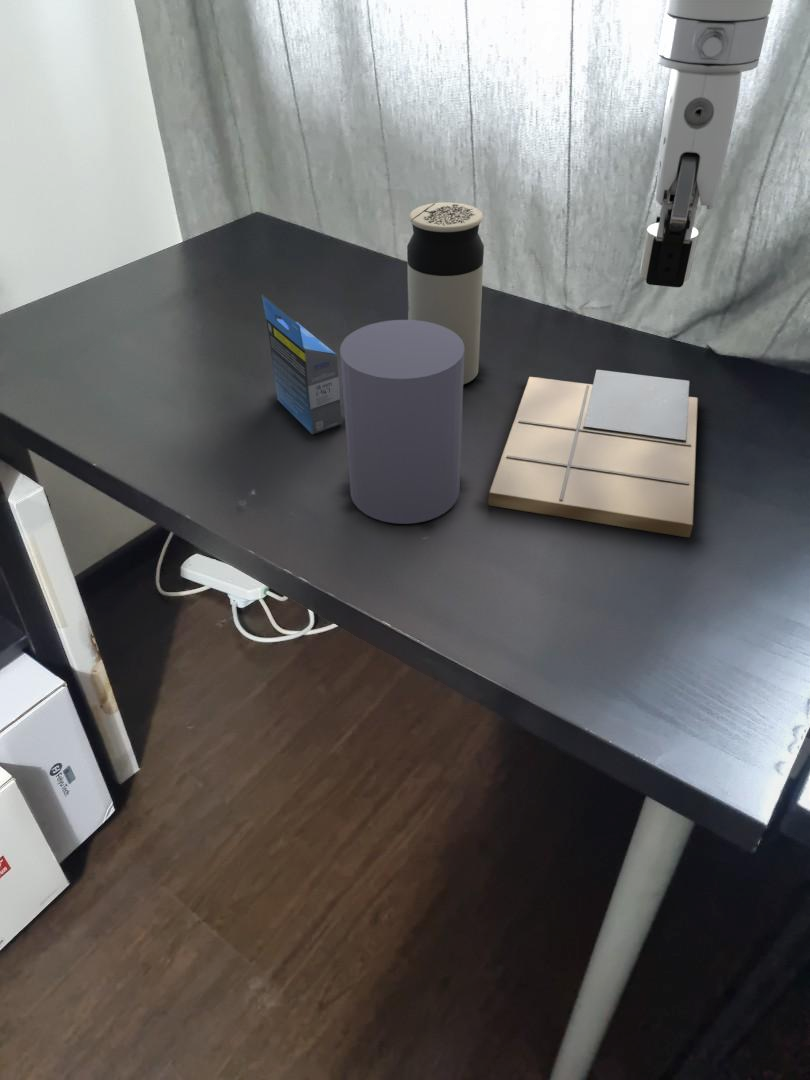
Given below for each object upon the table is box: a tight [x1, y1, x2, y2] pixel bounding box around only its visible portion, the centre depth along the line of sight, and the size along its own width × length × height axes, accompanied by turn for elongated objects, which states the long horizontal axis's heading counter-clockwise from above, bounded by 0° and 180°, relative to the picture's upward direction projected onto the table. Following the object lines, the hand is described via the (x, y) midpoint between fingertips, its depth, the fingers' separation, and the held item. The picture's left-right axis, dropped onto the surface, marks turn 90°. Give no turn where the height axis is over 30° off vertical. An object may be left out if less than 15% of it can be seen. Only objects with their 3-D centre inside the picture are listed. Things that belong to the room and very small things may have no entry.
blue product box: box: [261, 294, 343, 435], centre depth 85 cm, size 9×4×12 cm, turn 32°
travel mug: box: [406, 201, 485, 385], centre depth 89 cm, size 8×8×18 cm
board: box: [487, 369, 699, 538], centre depth 83 cm, size 18×25×2 cm
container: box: [339, 319, 464, 525], centre depth 73 cm, size 10×10×15 cm
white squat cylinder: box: [639, 222, 700, 283], centre depth 74 cm, size 4×4×4 cm
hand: (665, 271), depth 75 cm, fingers closed on white squat cylinder, 4 cm apart
